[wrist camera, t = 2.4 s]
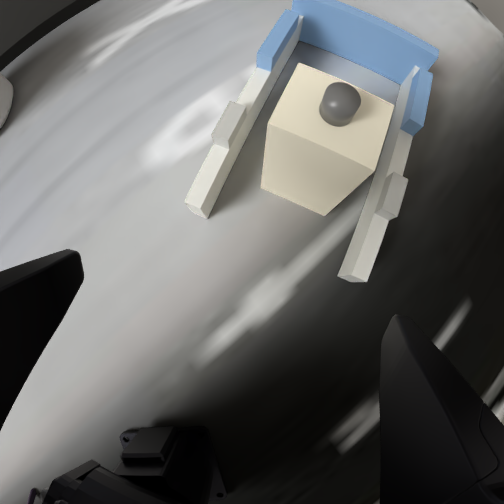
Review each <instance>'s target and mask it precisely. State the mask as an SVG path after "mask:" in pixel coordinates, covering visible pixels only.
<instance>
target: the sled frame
mask: <svg viewBox="0 0 504 504" xmlns="http://www.w3.org/2000/svg"><path fill="white" fill-rule="evenodd" d="M298 41H302V42H305V43H308V44H311V45H313V46H316V47H319V48H321V49H324V50H326V51H329V52H331V53H334V54H336V55H339V56H341V57H343V58H346V59H348V60H350V61H352V62H355V63H357V64H359V65H361V66H364V67H366V68H368V69H370V70H372V71H374V72H376V73H378V74H380V75H382V76H384V77H386V78H388V79H390V80H392V81H394V82H396V83H398V84H400V85H401V86H400V90H399V94H398V98H397V101H396V105H395V109H394V112H393V116H392V119H391V123H390V126H389V130H388V133H387V137H386V140H385V143H384V146H383V150H382V153H381V156H380V159H379V162H378V166H377V169H376V172H375V175H374V178H373V181H372V184H371V187H370V190H369V193H368V196H367V198H366V201H365V204H364V207H363V210H362V213H361V215H360V218H359V221H358V224H357V226H356V229H355V232H354V234H353V237H352V240H351V242H350V245H349V248H348V250H347V253H346V255H345V258H344V261H343V263H342V266H341V268H340V271H339V273H338V277H340V278H343V279H345V280H347V281H349V282H367V280H368V278H369V275H370V272H371V270H372V267H373V264H374V262H375V259H376V256H377V253H378V251H379V248H380V245H381V242H382V239H383V236H384V233H385V231H386V228H387V225H388V222H389V220H391V219H393V218H396V217H397V216H398V213H399V210H400V207H401V203H402V200H403V197H404V193H405V190H406V186H407V183H408V179H407V178H405V177H403V172H404V169H405V165H406V162H407V158H408V154H409V150H410V146H411V142H412V138H413V136H414V135H415V134H416V133H417V132H418V131H419V130H420V129H421V128H422V127H423V126H424V121H425V116H426V111H427V106H428V101H429V96H430V90H431V84H432V78H433V74H432V73H430V72H429V71H428V70H429V68H430V67H431V66H432V65H433V63H434V62H435V61H436V60H437V58H438V54H439V49H437V48H435V47H433V46H432V45H430V44H428V43H427V42H425V41H423V40H421V39H419V38H418V37H416V36H414V35H412V34H410V33H408V32H406V31H405V30H403V29H401V28H399V27H397V26H395V25H393V24H391V23H388V22H386V21H384V20H382V19H380V18H378V17H376V16H373V15H371V14H369V13H367V12H364V11H362V10H359V9H357V8H355V7H352V6H350V5H347V4H344V3H342V2H339V1H337V0H293V3H292V10H291V11H290V10H287V9H286V10H285V11H284V13H283V14H282V16H281V17H280V18H279V20H278V21H277V23H276V24H275V26H274V27H273V29H272V30H271V32H270V33H269V35H268V37H267V38H266V40H265V41H264V43H263V44H262V46H261V47H260V49H259V51H258V52H257V67H256V69H255V70H254V72H253V74H252V75H251V77H250V79H249V81H248V82H247V84H246V86H245V87H244V89H243V91H242V93H241V94H240V96H239V98H238V100H237V101H236V103H235V102H232V101H230V102H229V104H228V105H227V107H226V109H225V111H224V112H223V114H222V116H221V118H220V120H219V121H218V123H217V125H216V127H215V129H214V130H213V132H212V134H211V136H212V139H213V143H214V144H213V145H212V147H211V149H210V151H209V153H208V155H207V157H206V159H205V161H204V163H203V165H202V167H201V169H200V171H199V173H198V175H197V177H196V179H195V181H194V183H193V185H192V187H191V189H190V191H189V193H188V195H187V197H186V199H185V201H184V202H185V204H186V205H187V206H188V207H189V209H190V210H191V211H192V212H193V213H194V214H196V215H199V216H201V217H203V218H206V219H208V217H209V214H210V212H211V210H212V208H213V206H214V204H215V202H216V200H217V197H218V195H219V193H220V191H221V189H222V187H223V185H224V183H225V181H226V179H227V177H228V175H229V173H230V170H231V168H232V166H233V164H234V162H235V160H236V158H237V156H238V154H239V152H240V150H241V148H242V146H243V144H244V142H245V140H246V138H247V136H248V134H249V132H250V130H251V128H252V127H253V125H254V123H255V121H256V119H257V117H258V115H259V113H260V111H261V109H262V107H263V105H264V103H265V102H266V100H267V98H268V96H269V94H270V92H271V90H272V88H273V87H274V85H275V83H276V81H277V79H278V77H279V75H280V74H281V72H282V70H283V68H284V66H285V64H286V63H287V61H288V59H289V57H290V55H291V54H292V52H293V50H294V48H295V47H296V45H297V43H298Z"/></svg>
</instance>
